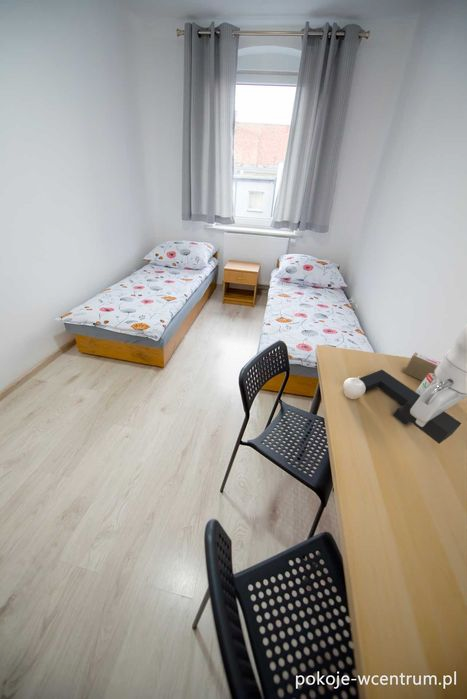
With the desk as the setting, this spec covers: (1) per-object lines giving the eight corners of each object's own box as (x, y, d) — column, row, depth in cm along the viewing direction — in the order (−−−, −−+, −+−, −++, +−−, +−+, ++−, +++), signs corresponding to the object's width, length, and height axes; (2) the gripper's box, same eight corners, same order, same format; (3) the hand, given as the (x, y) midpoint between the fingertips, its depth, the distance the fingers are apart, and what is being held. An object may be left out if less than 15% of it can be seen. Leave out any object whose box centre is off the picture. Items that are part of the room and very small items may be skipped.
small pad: (452, 434, 65) (461, 423, 63) (439, 444, 63) (448, 432, 60) (412, 405, 72) (419, 394, 70) (399, 413, 69) (406, 402, 67)
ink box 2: (414, 393, 100) (435, 361, 92) (436, 396, 100) (459, 364, 92) (418, 400, 97) (441, 367, 89) (441, 403, 97) (465, 371, 89)
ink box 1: (432, 381, 107) (444, 364, 103) (430, 385, 105) (442, 368, 100) (405, 368, 113) (415, 351, 108) (402, 372, 110) (412, 355, 105)
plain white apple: (362, 393, 97) (371, 375, 92) (359, 405, 91) (368, 387, 87) (342, 385, 99) (349, 368, 95) (338, 397, 94) (346, 379, 89)
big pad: (429, 411, 93) (434, 404, 91) (405, 425, 87) (410, 418, 85) (378, 375, 107) (382, 369, 105) (355, 384, 100) (358, 378, 98)
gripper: (452, 399, 52) (417, 445, 59) (498, 371, 61) (462, 414, 69) (420, 378, 56) (391, 423, 64) (467, 355, 65) (436, 397, 73)
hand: (428, 418), depth 66 cm, fingers closed on small pad, 6 cm apart
